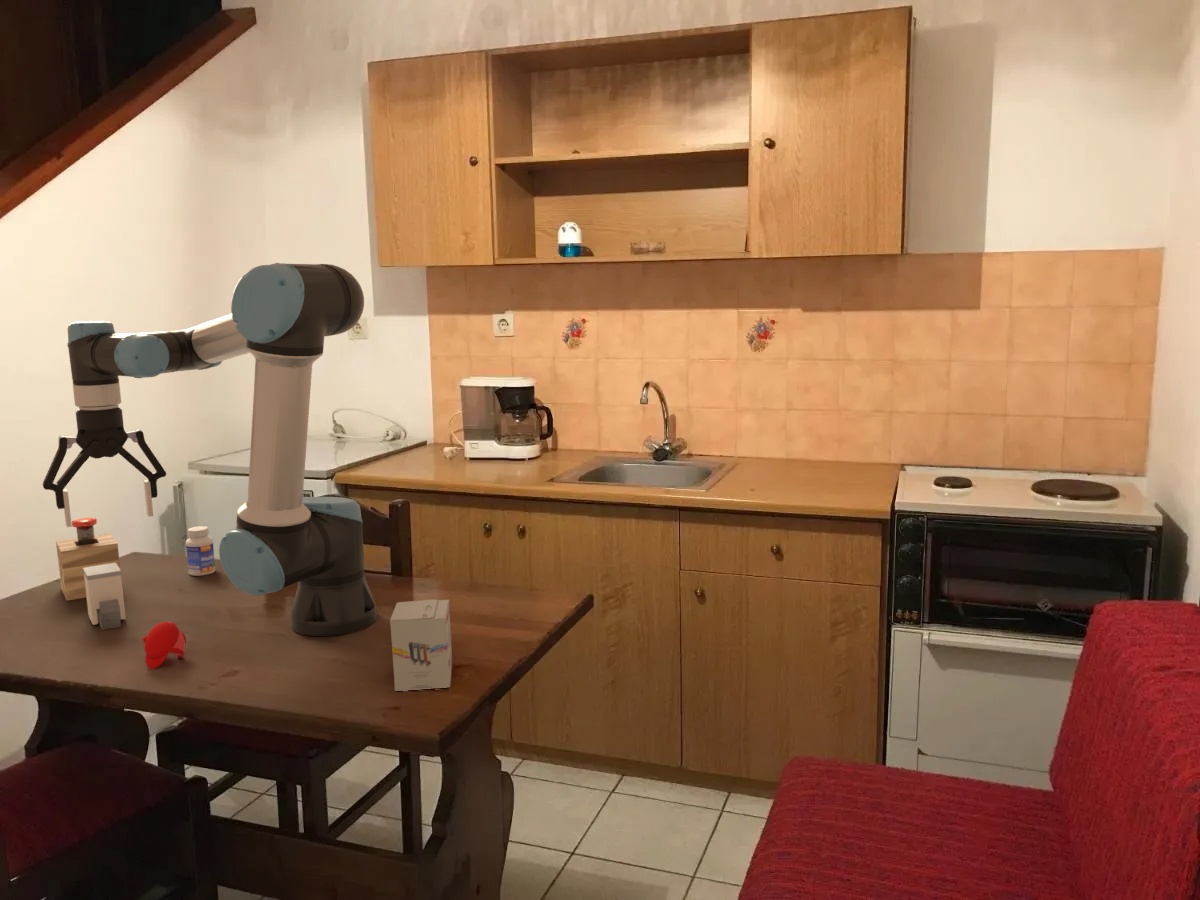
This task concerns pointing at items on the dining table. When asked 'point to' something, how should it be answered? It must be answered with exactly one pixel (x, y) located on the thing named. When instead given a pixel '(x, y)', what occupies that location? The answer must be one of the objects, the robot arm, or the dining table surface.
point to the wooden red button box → (83, 562)
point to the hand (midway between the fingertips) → (110, 520)
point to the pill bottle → (200, 552)
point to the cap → (163, 643)
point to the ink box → (421, 645)
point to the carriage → (103, 588)
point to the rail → (108, 614)
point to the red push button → (85, 530)
